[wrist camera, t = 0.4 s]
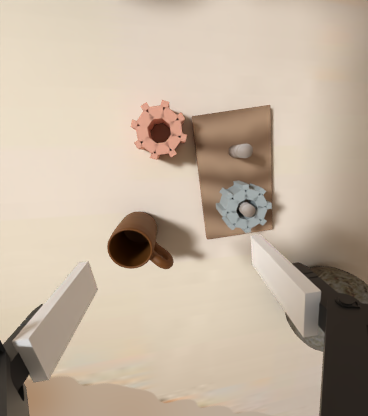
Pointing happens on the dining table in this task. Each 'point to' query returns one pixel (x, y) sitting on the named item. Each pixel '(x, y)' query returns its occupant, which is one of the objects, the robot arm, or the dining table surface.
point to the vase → (340, 284)
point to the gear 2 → (237, 195)
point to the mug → (137, 243)
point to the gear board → (233, 162)
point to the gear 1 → (158, 116)
